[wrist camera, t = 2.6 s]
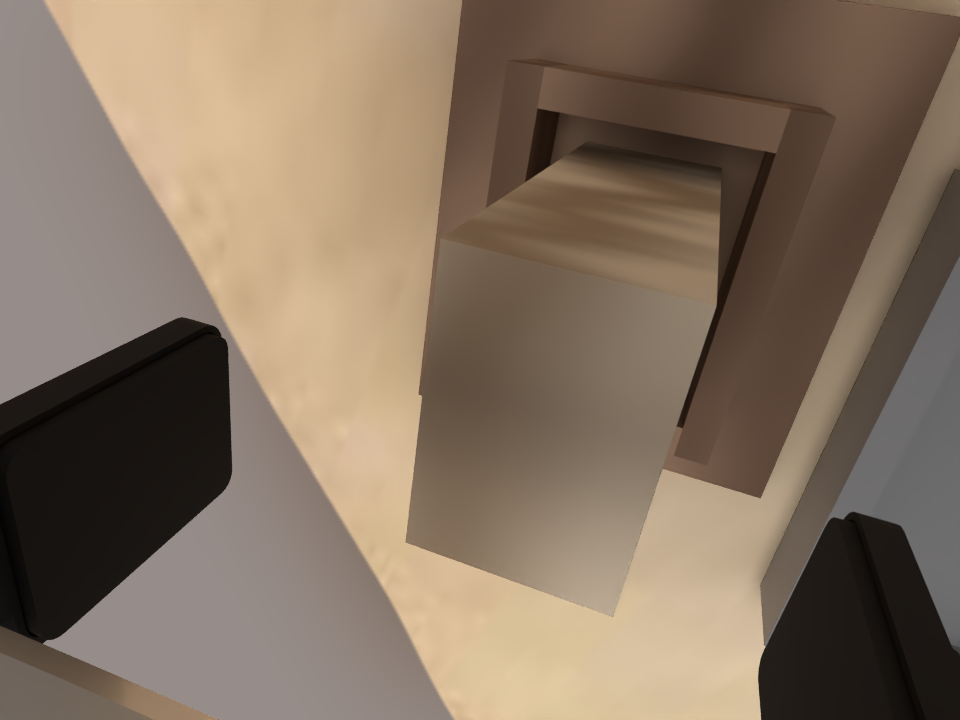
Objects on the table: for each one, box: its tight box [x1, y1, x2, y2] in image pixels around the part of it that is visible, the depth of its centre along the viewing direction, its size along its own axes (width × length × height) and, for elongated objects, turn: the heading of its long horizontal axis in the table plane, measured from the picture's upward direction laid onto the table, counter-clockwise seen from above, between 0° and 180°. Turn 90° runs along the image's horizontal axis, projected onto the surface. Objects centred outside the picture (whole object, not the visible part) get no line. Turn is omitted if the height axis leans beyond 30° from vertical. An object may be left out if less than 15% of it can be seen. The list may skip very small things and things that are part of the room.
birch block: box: [406, 141, 722, 617], centre depth 16 cm, size 4×6×12 cm, turn 171°
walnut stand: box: [419, 0, 960, 498], centre depth 20 cm, size 13×15×4 cm
